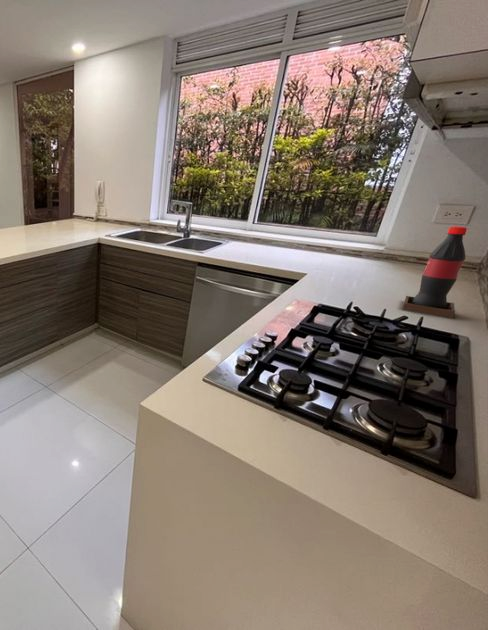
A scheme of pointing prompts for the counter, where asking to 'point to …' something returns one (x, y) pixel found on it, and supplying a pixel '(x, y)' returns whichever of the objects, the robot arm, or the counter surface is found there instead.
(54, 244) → the counter surface
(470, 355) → the counter surface
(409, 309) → the bottle tray
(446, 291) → the cola bottle
